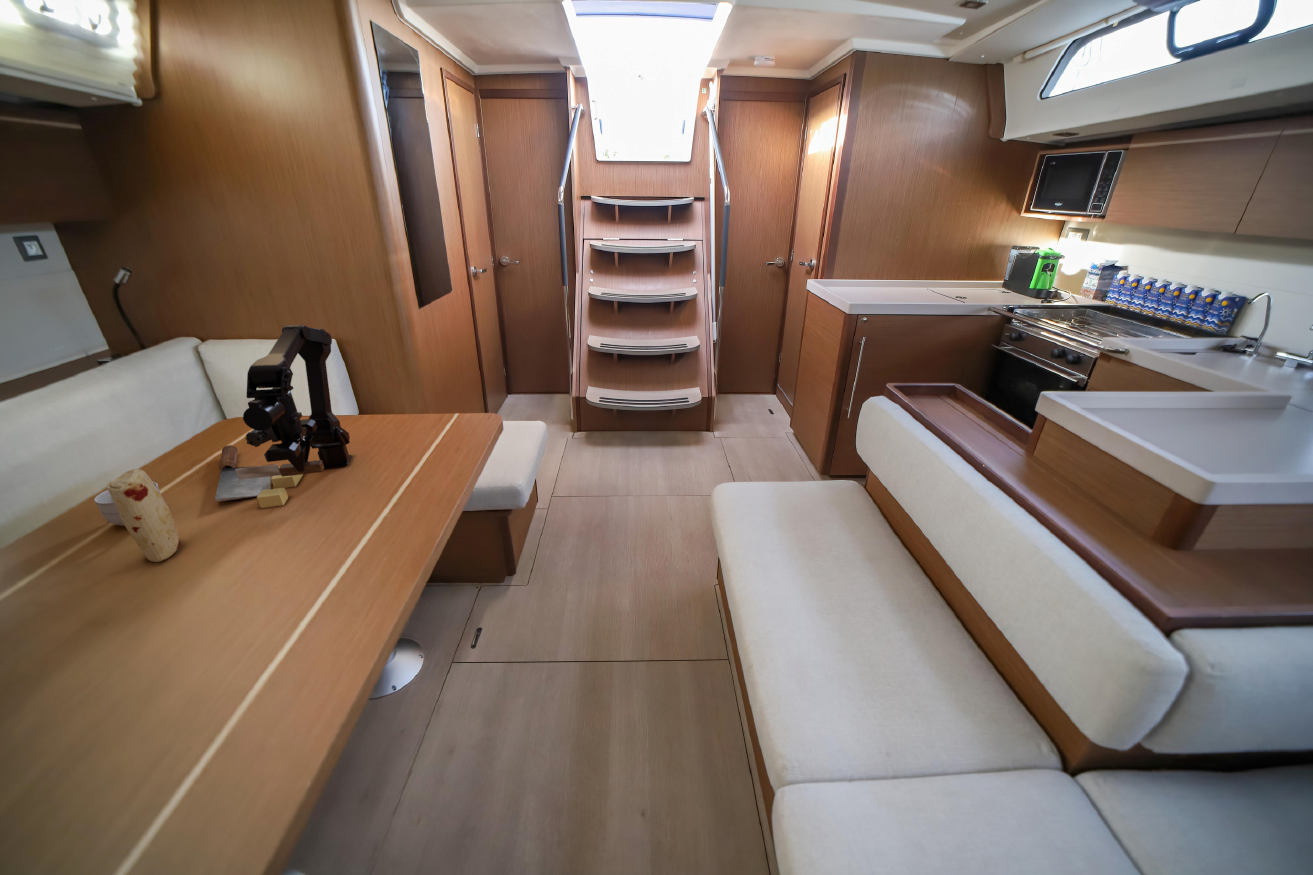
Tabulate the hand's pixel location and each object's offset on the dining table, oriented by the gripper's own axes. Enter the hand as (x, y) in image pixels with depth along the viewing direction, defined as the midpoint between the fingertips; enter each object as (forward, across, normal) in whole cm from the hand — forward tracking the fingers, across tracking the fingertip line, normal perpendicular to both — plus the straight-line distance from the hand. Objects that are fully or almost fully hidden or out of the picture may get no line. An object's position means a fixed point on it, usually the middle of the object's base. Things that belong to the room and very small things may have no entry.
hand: (302, 468), depth 129 cm
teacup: (+8, +1, -36) cm, 37 cm away
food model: (+8, +17, -24) cm, 31 cm away
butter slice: (+8, +1, -8) cm, 11 cm away
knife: (+1, 0, -5) cm, 5 cm away
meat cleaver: (+8, -18, -21) cm, 29 cm away
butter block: (+8, -10, -8) cm, 15 cm away
